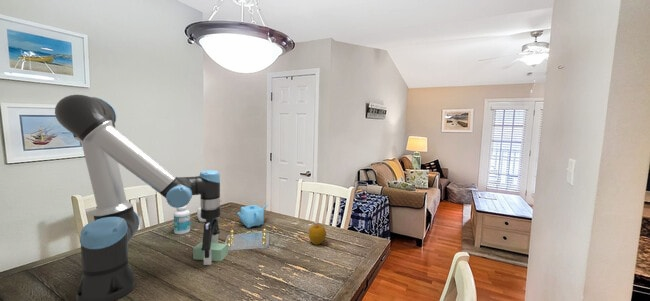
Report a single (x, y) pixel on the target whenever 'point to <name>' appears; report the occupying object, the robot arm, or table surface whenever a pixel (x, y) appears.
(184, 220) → the pill bottle
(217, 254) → the pale green block
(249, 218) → the teapot
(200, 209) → the mug
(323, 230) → the apple
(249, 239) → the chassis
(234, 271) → the table surface
